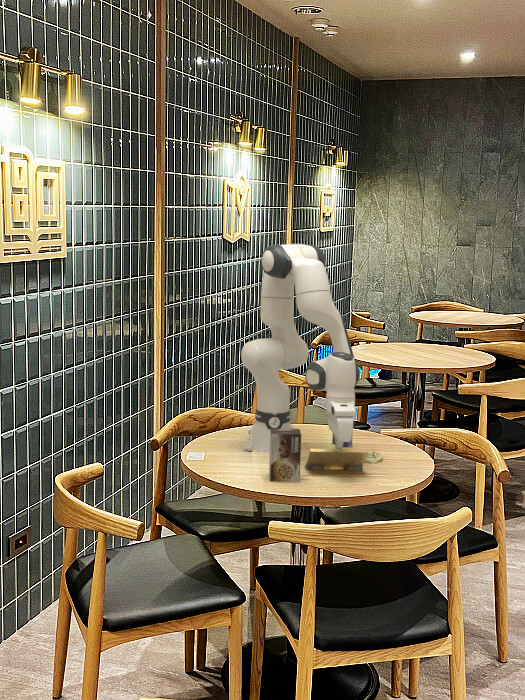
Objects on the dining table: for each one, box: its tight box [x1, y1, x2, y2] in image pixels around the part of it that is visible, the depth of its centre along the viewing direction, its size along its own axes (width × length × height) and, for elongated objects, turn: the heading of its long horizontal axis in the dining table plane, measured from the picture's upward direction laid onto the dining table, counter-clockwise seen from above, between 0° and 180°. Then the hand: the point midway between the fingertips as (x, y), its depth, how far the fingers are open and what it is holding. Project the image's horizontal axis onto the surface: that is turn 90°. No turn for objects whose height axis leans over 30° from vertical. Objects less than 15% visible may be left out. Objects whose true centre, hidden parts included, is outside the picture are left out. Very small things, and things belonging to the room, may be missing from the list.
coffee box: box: [268, 428, 302, 483], centre depth 248 cm, size 9×6×16 cm
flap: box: [305, 448, 370, 471], centre depth 258 cm, size 13×18×2 cm
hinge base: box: [304, 463, 363, 471], centre depth 257 cm, size 13×18×2 cm
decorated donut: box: [364, 450, 384, 464], centre depth 275 cm, size 10×11×4 cm
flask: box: [331, 431, 354, 448], centre depth 296 cm, size 9×3×11 cm, turn 37°
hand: (338, 449), depth 256 cm, fingers closed
